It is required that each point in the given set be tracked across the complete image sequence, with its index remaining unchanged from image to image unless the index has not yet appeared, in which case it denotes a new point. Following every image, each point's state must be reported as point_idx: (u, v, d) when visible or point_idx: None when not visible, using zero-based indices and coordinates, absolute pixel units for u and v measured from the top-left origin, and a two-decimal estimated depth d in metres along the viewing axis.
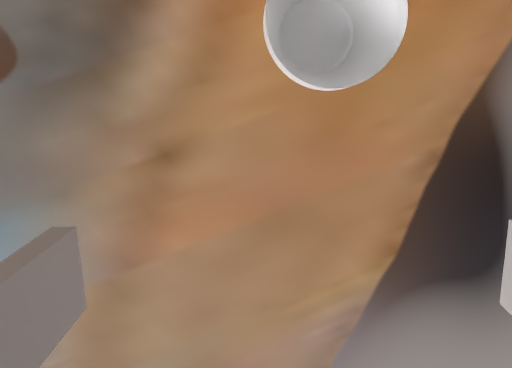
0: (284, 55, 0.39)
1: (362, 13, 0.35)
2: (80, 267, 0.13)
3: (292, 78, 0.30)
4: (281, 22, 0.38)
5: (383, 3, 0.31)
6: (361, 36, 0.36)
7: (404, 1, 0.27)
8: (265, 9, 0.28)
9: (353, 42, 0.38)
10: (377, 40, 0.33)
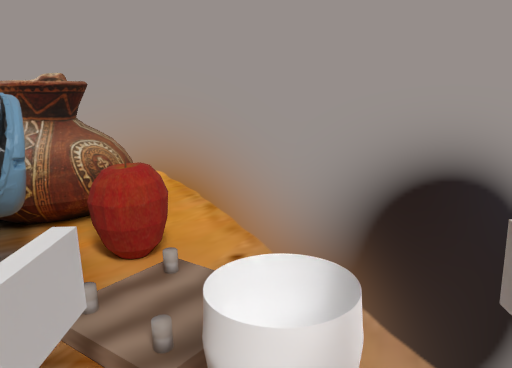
0: None
1: None
2: (79, 267, 0.13)
3: None
4: None
5: (298, 323, 0.29)
6: None
7: (307, 264, 0.28)
8: (220, 341, 0.22)
9: None
10: None
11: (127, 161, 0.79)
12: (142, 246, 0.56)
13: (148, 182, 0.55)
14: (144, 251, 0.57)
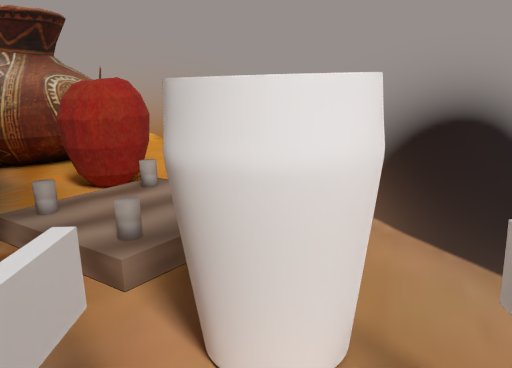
0: None
1: None
2: (80, 267, 0.13)
3: (320, 145, 0.14)
4: None
5: None
6: None
7: None
8: (183, 121, 0.15)
9: None
10: None
11: None
12: (119, 170, 0.50)
13: (125, 95, 0.48)
14: (122, 176, 0.50)
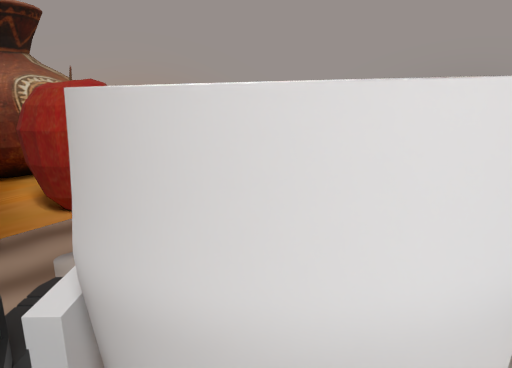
0: None
1: None
2: None
3: (438, 270, 0.05)
4: None
5: None
6: None
7: None
8: (91, 192, 0.06)
9: None
10: None
11: None
12: None
13: None
14: None
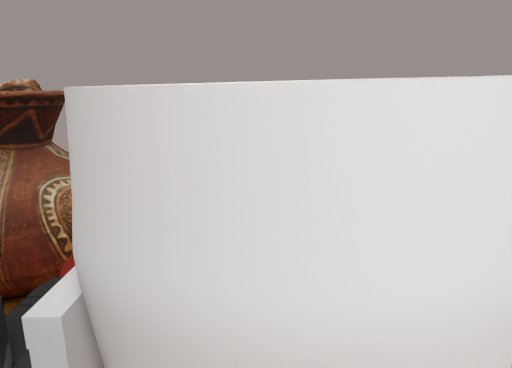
0: None
1: None
2: None
3: (442, 271, 0.05)
4: None
5: None
6: None
7: None
8: (91, 192, 0.06)
9: None
10: None
11: None
12: None
13: None
14: None
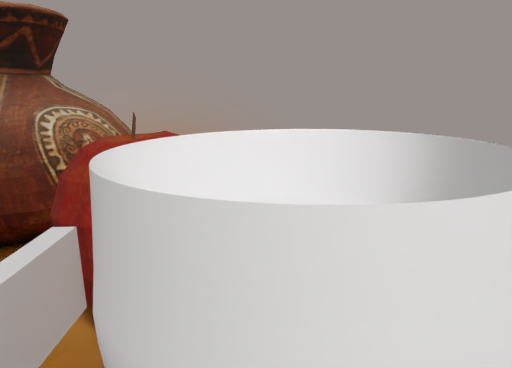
0: None
1: None
2: (80, 267, 0.13)
3: None
4: None
5: None
6: None
7: (355, 150, 0.13)
8: (118, 278, 0.07)
9: None
10: None
11: None
12: None
13: None
14: None
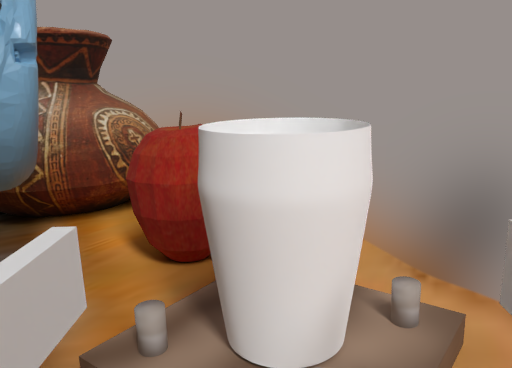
0: None
1: None
2: (79, 267, 0.13)
3: (322, 185, 0.19)
4: None
5: None
6: None
7: (310, 128, 0.26)
8: (217, 165, 0.20)
9: None
10: None
11: None
12: (205, 243, 0.39)
13: None
14: (207, 250, 0.40)
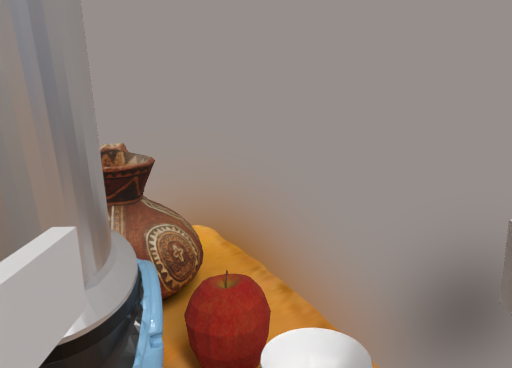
0: None
1: None
2: (80, 267, 0.13)
3: None
4: None
5: None
6: None
7: (330, 336, 0.38)
8: None
9: None
10: None
11: (197, 242, 0.74)
12: None
13: (255, 304, 0.50)
14: None
